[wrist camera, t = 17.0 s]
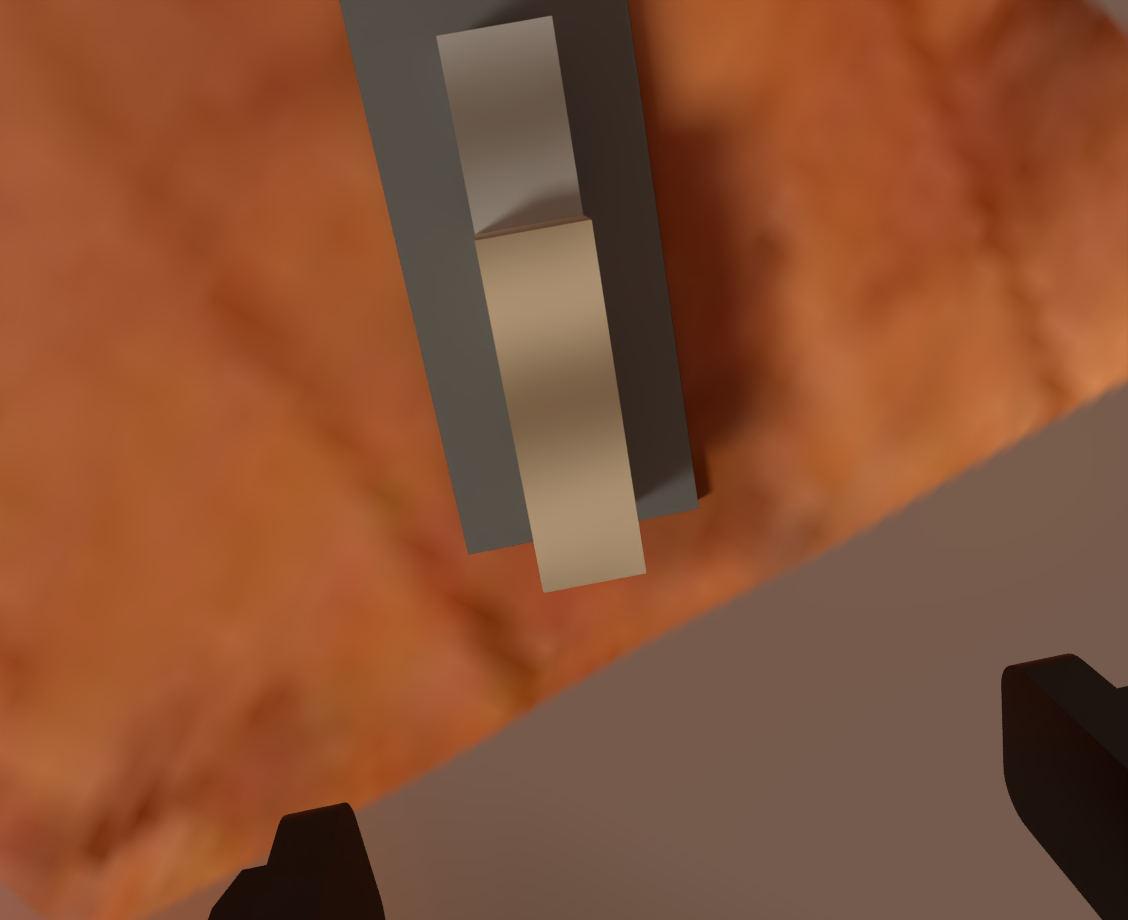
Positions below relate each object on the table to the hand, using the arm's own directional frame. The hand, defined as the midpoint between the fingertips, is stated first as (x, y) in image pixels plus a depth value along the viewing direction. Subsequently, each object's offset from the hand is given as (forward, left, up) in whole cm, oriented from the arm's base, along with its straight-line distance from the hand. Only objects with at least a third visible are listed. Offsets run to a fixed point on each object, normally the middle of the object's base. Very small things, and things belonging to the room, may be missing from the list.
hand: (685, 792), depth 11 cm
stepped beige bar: (0, +3, -20) cm, 20 cm away
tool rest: (0, +4, -20) cm, 21 cm away
